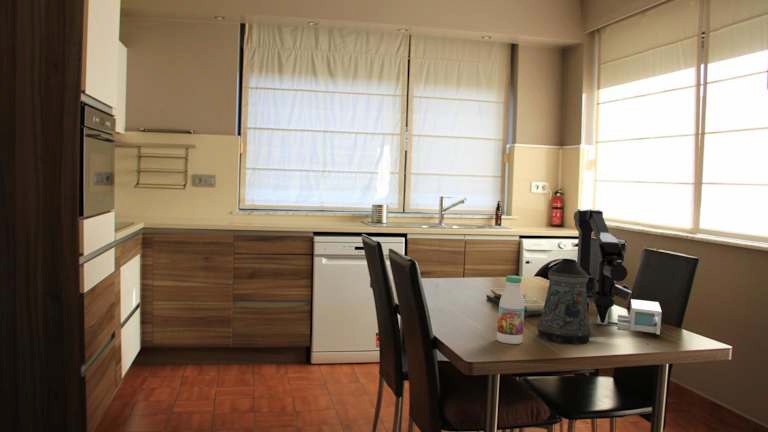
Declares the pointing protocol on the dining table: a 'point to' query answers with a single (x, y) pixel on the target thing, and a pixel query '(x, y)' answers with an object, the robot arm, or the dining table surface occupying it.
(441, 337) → the dining table surface
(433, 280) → the dining table surface
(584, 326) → the beer stein
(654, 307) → the shelf
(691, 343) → the dining table surface
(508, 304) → the milk bottle
